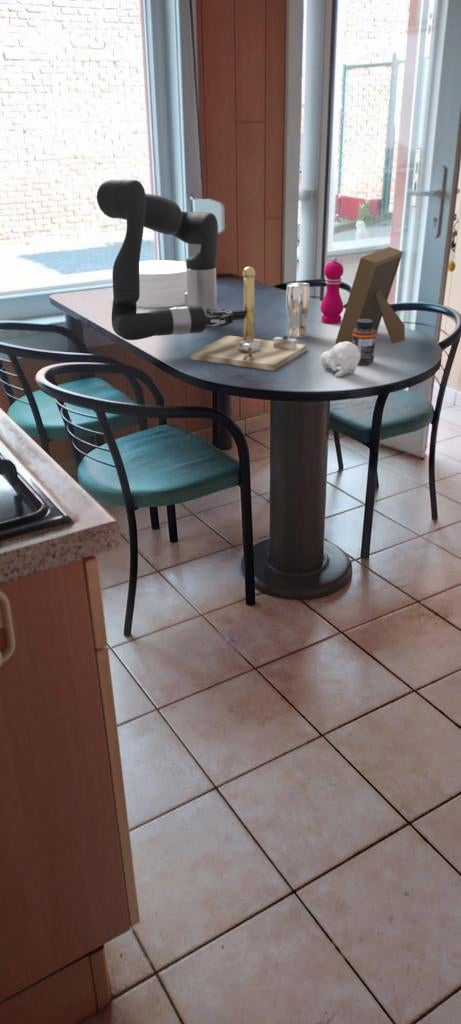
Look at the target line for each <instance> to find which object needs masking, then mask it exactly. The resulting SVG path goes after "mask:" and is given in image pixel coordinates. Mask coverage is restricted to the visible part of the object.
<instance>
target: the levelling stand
mask: <svg viewBox="0 0 461 1024" xmlns="http://www.w3.org/2000/svg"><path fill="white" fill-rule="evenodd" d="M297 339H298V338H291V337H288V336H287V335H283V336H282V337H280V336H275V337H274V338H273V339H272V340H267V339H263V338H262V339H261V338H254V340H253V341H258V342H260V351H258V352H252V357H249V356H248V353H247V352H241V351H239V349H238V343H239V342H241V341H246V340H244V336H237V335H236V336H235V335H225V336H223V337H221V338H220V339H217V340H216V341H213V342H211V343H209V344H207V345H205V346H203V347H201V348H199V349H197V350H195V351H193V352H191V353H189V356H190V357H189V359H190V360H193V361H194V360H195V361H203V362H208V363H216V364H221V365H222V364H224V365H230V366H231V365H232V366H237V367H244V368H251V369H259V370H266V371H273V372H275V371H277V370H278V369H279V368H281V367H282V366H284V365H286V364H287V363H289V362H290V361H292V360H293V359H295V358H296V357H298V356H300V355H302V354H303V353H305V352H306V351H308V350H307V346H308V345H307V344H302V343H300V344H299V343H298V342H297V341H298V340H297Z"/></svg>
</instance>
